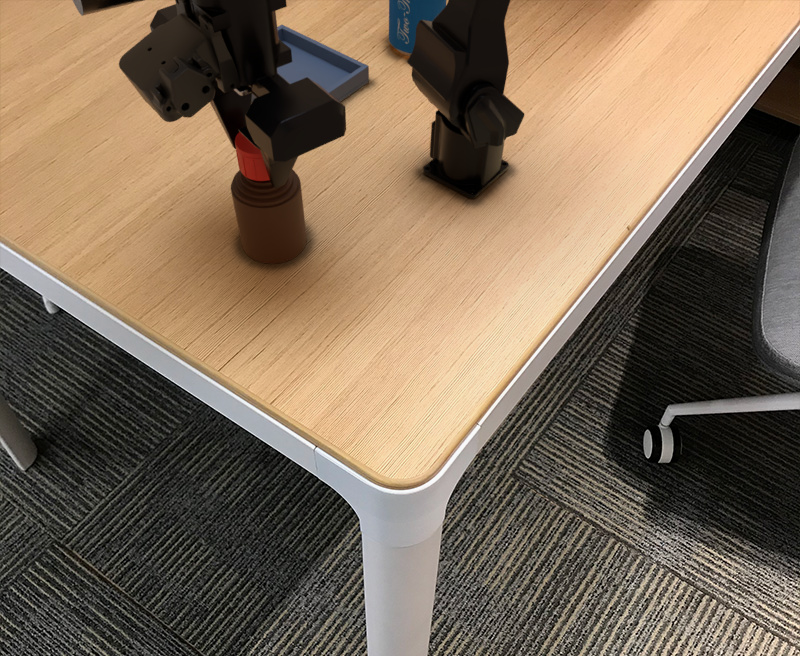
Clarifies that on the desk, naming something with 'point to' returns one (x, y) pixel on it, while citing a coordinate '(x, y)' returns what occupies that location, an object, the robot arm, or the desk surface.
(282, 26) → the tray
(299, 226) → the bottle
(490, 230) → the desk surface
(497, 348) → the desk surface
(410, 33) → the beverage can
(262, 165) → the cap
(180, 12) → the robot arm
